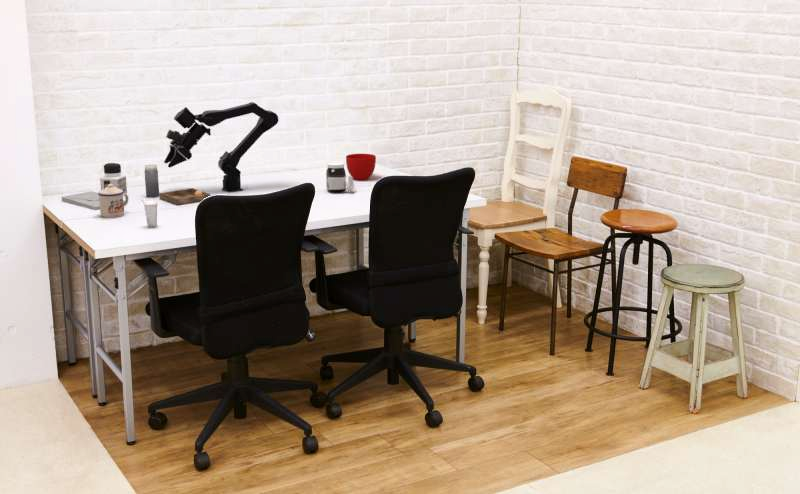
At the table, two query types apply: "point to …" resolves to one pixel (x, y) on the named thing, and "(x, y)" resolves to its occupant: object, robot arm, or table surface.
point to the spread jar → (338, 178)
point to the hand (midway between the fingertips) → (166, 164)
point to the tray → (182, 196)
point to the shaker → (151, 181)
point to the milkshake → (151, 213)
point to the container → (113, 177)
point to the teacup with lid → (112, 201)
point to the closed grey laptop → (84, 200)
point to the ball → (198, 193)
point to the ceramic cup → (360, 165)
